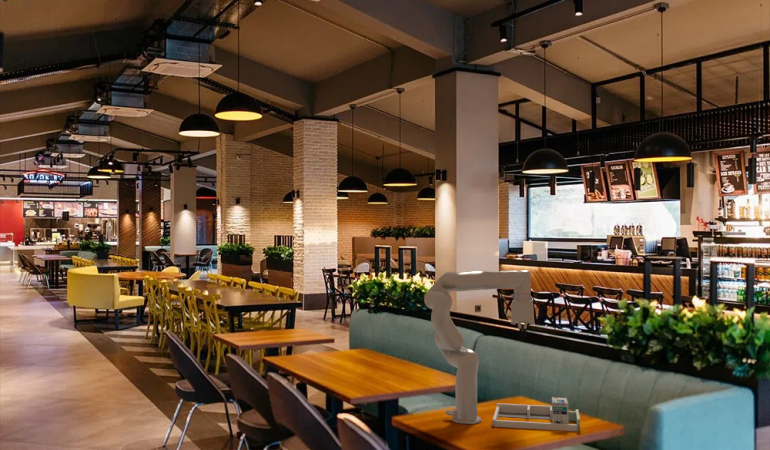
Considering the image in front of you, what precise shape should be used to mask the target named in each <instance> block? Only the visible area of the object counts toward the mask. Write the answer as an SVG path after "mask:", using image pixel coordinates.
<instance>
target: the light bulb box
mask: <svg viewBox="0 0 770 450" xmlns="http://www.w3.org/2000/svg"><path fill="white" fill-rule="evenodd" d="M569 405H570V404H569V400H568V398H567V397H555V396H552V397H551V406H552V420H551V421H552V422H551V423H558V424H570V421H569V411H570V410H569Z"/></svg>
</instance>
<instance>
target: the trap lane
mask: <svg viewBox="0 0 770 450" xmlns="http://www.w3.org/2000/svg"><path fill="white" fill-rule="evenodd" d="M495 408H496V409H495V411H494V415H493V417H492V427H497V428H511V429H512V428H514V429H527V430H528V429H532V430H534V429H535V430H547V431H566V432H579V431H580V432H581V417H580V413H579V411H580V410H579V409H575V410H574V411H570V410H569V422H575V424H574V423H573V424H572V423H571V424H570V423H569V424H558V423H552V422H537V421H536V422H535V421H518V420H505V419H503V420H501V419H499V418H515V419H517V418H518V419H529V420H532V419H534V420H535V419H536V420H547V421H548V420H550V421H552V405H539V404H538V405H537V404H521V403H519V404H516V403H515V404H514V403H502V402H501V403H500V402H499V403H498V402H497V403H496V407H495Z"/></svg>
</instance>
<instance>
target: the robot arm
mask: <svg viewBox="0 0 770 450" xmlns="http://www.w3.org/2000/svg"><path fill="white" fill-rule="evenodd" d="M531 283H532V282H531V272H530V270H527V269H523V270H522V269H521V270H518V269H517V270H511V269H504V270H503V269H501V270H500V271H487V270H474V271H457V272H455V271H447V272H445V273H443V274H441V276H440V277H439V278H438V279H437V280H436V281H435V283H434V284H433V285H432V286H430V288H429V289H428V291H426V293H425V294H424V297H423V301H424V304H425V306H426V307H427V308H428V309H431V317H430V322H431V325H432V327H433V329H434V330H435V333H434V344H435V346H436V347H437V348H438V350H439V351H440V353H441V355H442V357H444V359H445V360H446V362H448V364H449V366H452V367H454V368H456V369H457V371H456V374H455V379H454V380H455V381H454V385H455V387H454V388H455V409H453V410H450V409H446V410H445V415H447V416H452V418H451V420H452V422H454V423H456V424H461V425H474V424H478V423H480V422H482V417H481V416H478V369H479V366H480V360H479V356H478V354H477V353H476V352H475V350H472V349H471V348H467V347H464V345H465V340H464V339H465V338H464V337H463V335H462V333H461V332H460V331H459V329H458V327H457V326H456V324H454V322H453V320H452V318H451V309H452V305H453V298H452V296H451V294H450V293H451V292H469V291H484V290H485V291H486V290H487V291H488V290H496V289H497V290H499V289H513V293H512V294H510V298H512V299H513V300H512V299H511V300H512V301H511V306H510V307H511V311H510V319H511V320H510V324H511V325H514V326H516V327H517V329H518V331H519V332H518V335H519V336H520V338H523V339H524V338H525V336H526V337H527V328H528V327H529V326H533V325H535V320H534V319H535V314H534V313H535V312H534V303H533V300H532V299H531V298H532V297H531V292H532V291H531V289H532V288H531ZM522 323H523V326H522Z"/></svg>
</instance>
